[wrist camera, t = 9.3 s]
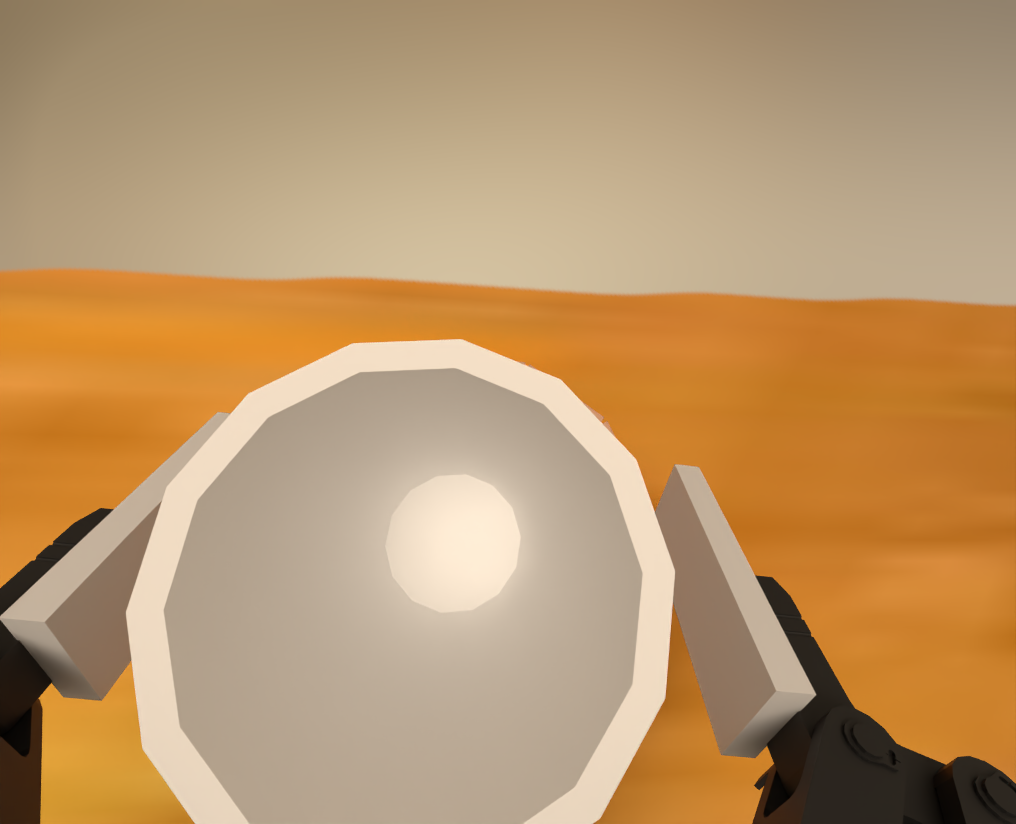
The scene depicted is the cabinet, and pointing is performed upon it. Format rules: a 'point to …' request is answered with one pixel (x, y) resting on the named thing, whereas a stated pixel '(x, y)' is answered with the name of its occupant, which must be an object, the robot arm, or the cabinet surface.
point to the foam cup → (402, 600)
